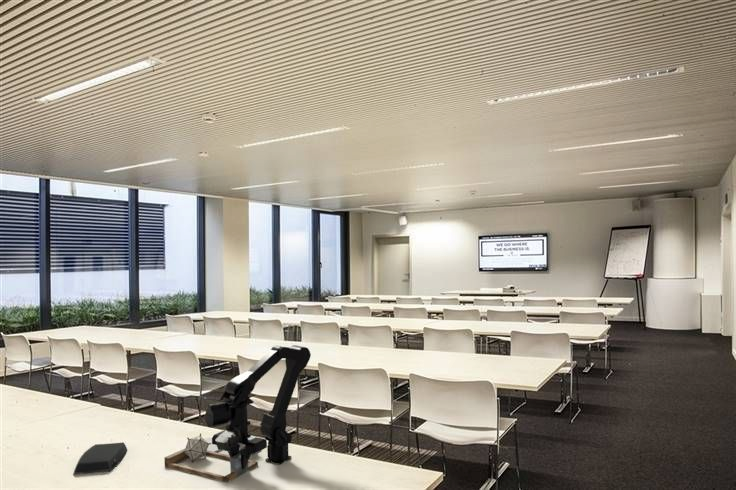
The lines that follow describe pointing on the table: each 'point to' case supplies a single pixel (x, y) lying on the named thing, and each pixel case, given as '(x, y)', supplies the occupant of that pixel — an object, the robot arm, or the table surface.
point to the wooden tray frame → (234, 469)
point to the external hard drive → (101, 458)
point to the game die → (196, 448)
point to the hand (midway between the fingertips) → (239, 468)
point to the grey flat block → (214, 449)
